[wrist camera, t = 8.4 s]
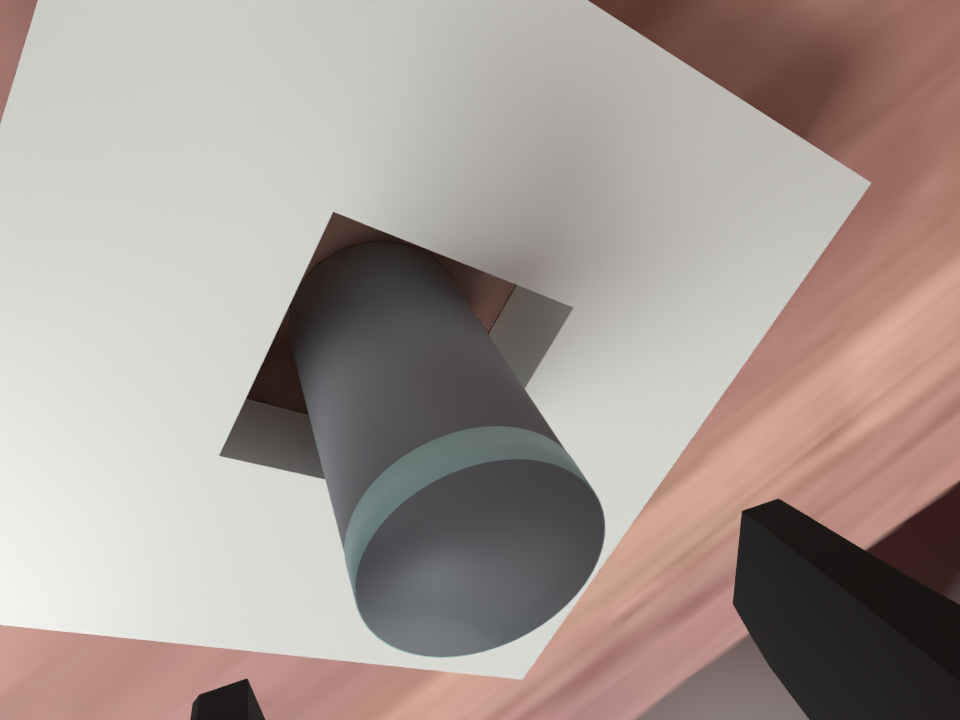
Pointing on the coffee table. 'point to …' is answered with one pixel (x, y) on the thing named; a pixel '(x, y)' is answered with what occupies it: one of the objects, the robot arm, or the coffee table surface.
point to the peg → (435, 459)
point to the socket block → (286, 255)
